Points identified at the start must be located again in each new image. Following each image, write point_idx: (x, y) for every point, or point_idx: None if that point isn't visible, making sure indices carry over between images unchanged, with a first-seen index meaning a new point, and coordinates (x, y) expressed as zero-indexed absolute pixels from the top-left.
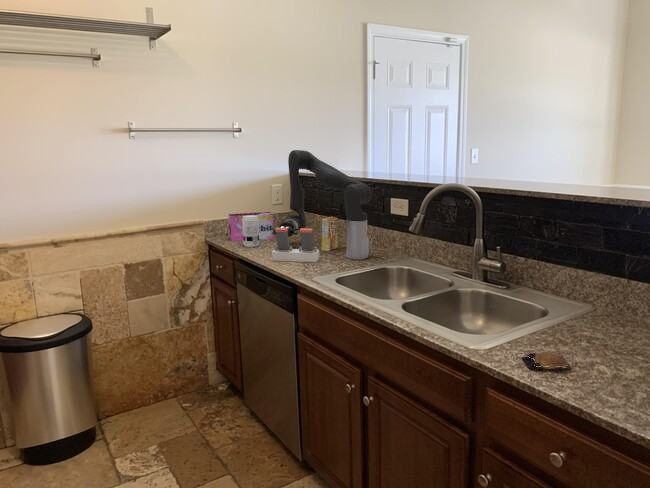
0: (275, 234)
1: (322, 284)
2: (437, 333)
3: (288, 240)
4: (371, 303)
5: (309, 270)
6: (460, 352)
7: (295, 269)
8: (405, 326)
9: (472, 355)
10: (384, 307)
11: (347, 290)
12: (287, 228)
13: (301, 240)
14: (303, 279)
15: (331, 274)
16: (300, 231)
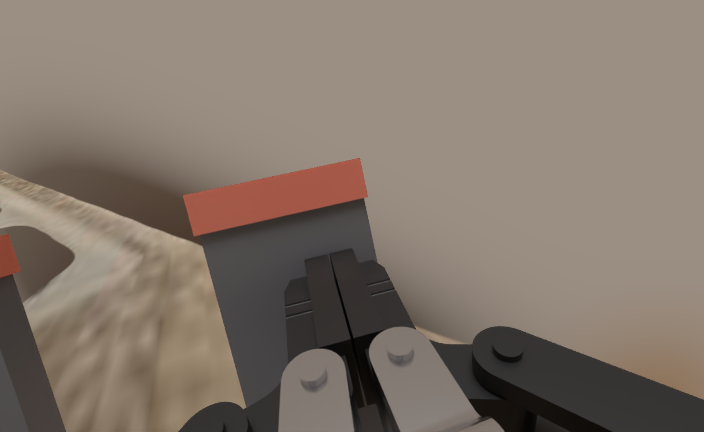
0: (538, 417)
1: (116, 240)
2: (3, 188)
3: (242, 388)
4: (39, 212)
5: (133, 330)
6: (14, 176)
7: (209, 317)
8: (35, 186)
9: (5, 176)
10: (23, 210)
11: (56, 236)
12: (187, 199)
13: (50, 398)
14: (173, 247)
15: (37, 321)
16: (10, 256)
